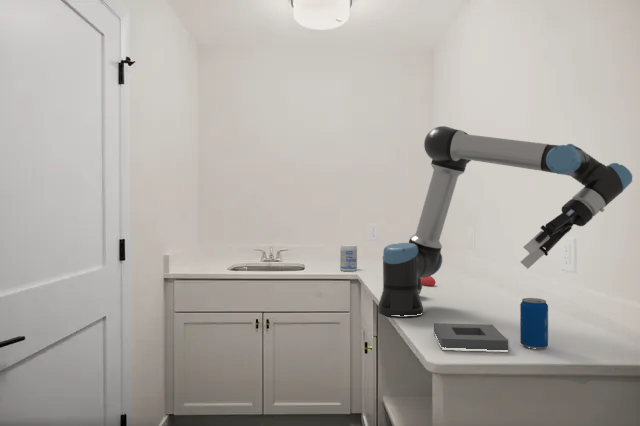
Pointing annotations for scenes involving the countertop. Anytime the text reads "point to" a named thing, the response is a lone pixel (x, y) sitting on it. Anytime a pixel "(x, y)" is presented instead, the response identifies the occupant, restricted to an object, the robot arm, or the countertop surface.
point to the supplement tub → (348, 258)
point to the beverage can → (534, 323)
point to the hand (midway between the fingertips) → (525, 258)
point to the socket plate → (470, 336)
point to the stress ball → (428, 281)
